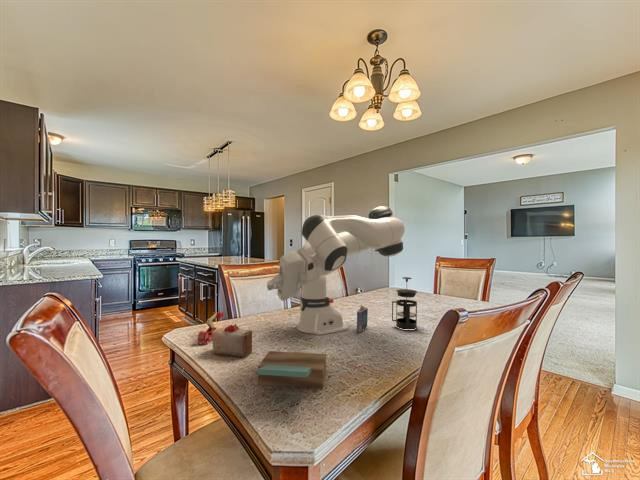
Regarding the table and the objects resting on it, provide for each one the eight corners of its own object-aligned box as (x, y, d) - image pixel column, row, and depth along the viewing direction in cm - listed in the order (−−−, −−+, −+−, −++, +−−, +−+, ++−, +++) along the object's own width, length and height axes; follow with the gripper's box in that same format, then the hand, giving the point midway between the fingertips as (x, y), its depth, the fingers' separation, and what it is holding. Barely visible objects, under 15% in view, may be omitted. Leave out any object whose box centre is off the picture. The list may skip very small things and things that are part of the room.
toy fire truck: (196, 345, 111) (196, 319, 111) (216, 333, 124) (216, 310, 124) (204, 345, 110) (204, 320, 110) (223, 334, 124) (224, 311, 123)
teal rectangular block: (267, 364, 80) (257, 369, 72) (311, 366, 79) (306, 371, 70) (267, 369, 80) (257, 374, 71) (311, 371, 79) (306, 377, 70)
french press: (416, 325, 138) (417, 276, 138) (420, 331, 129) (421, 279, 129) (391, 324, 140) (391, 275, 140) (392, 330, 131) (393, 278, 131)
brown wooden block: (268, 367, 93) (269, 351, 93) (326, 370, 91) (326, 353, 91) (258, 384, 82) (258, 366, 82) (322, 388, 80) (323, 369, 80)
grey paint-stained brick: (208, 355, 101) (208, 326, 101) (221, 347, 109) (221, 320, 109) (244, 359, 98) (244, 330, 98) (255, 350, 106) (255, 323, 106)
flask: (361, 333, 127) (361, 308, 127) (354, 331, 128) (354, 307, 128) (368, 327, 135) (368, 303, 135) (362, 326, 136) (362, 303, 136)
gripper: (296, 282, 109) (262, 297, 103) (302, 244, 95) (263, 258, 89) (305, 295, 106) (271, 311, 99) (313, 256, 92) (273, 273, 85)
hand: (267, 286), depth 94 cm, fingers closed
